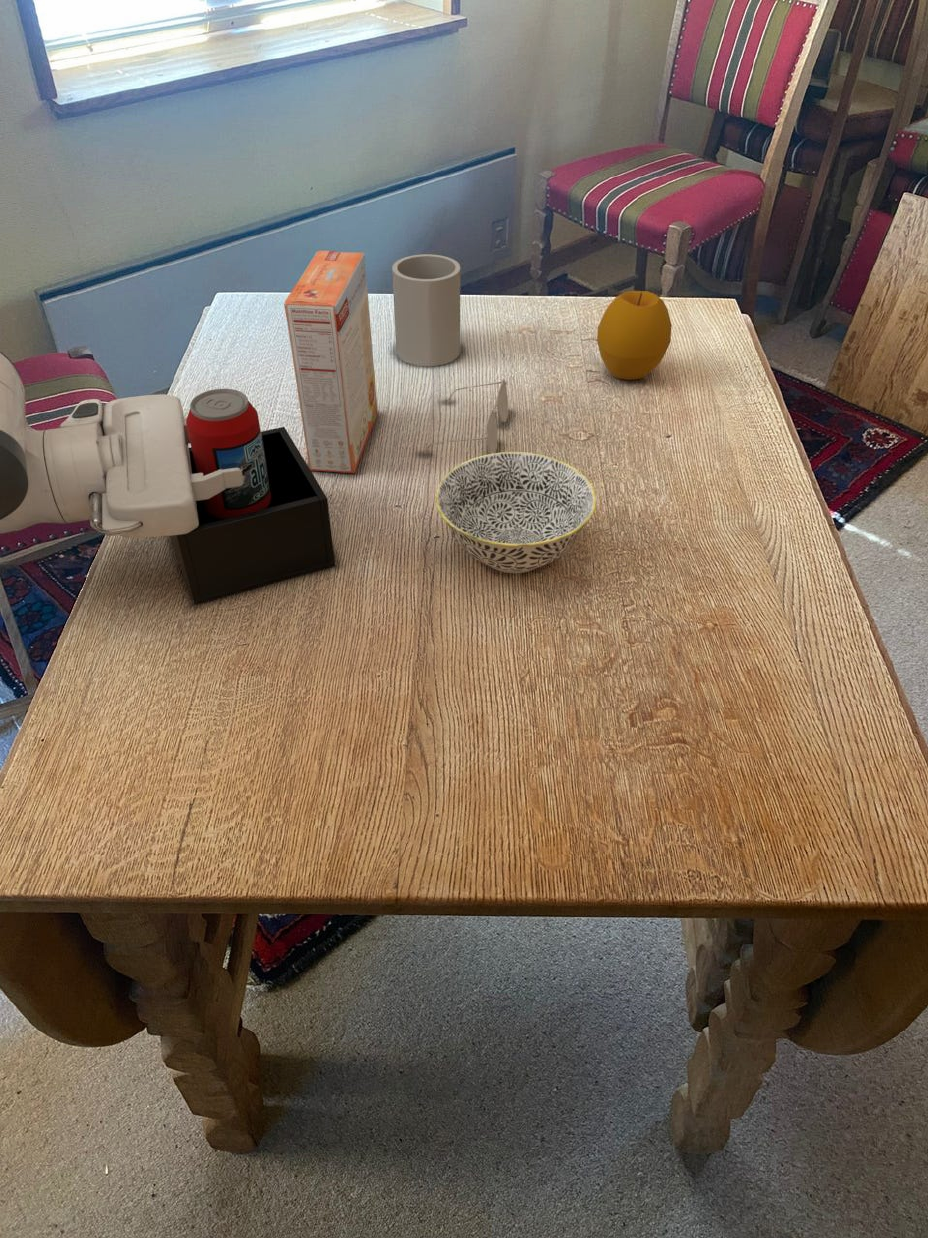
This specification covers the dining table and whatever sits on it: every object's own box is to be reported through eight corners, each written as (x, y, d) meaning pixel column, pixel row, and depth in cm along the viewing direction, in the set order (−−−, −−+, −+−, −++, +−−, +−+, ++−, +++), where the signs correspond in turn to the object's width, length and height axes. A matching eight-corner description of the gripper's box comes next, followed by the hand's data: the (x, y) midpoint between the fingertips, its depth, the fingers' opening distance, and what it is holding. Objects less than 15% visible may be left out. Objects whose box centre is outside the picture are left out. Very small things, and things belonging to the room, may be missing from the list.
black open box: (194, 605, 89) (176, 536, 83) (165, 524, 99) (146, 456, 93) (335, 566, 94) (327, 497, 88) (294, 492, 103) (284, 426, 98)
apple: (619, 400, 119) (631, 314, 111) (577, 369, 125) (586, 286, 117) (678, 382, 123) (693, 298, 115) (634, 353, 129) (646, 271, 121)
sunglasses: (491, 465, 108) (485, 428, 104) (424, 466, 110) (416, 430, 107) (511, 407, 118) (506, 371, 114) (449, 409, 120) (442, 375, 117)
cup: (459, 366, 126) (459, 281, 118) (394, 365, 126) (390, 280, 118) (460, 337, 132) (460, 254, 124) (398, 336, 133) (394, 253, 124)
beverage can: (251, 532, 90) (231, 426, 82) (192, 518, 92) (167, 412, 83) (284, 496, 95) (268, 392, 86) (227, 482, 96) (207, 379, 88)
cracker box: (333, 411, 117) (316, 247, 102) (379, 415, 116) (368, 250, 102) (304, 472, 107) (280, 298, 92) (354, 476, 106) (338, 302, 92)
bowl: (477, 621, 88) (478, 561, 83) (413, 531, 98) (411, 472, 93) (617, 576, 93) (626, 517, 88) (542, 495, 103) (546, 437, 98)
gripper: (79, 507, 76) (244, 482, 79) (82, 391, 91) (222, 374, 94) (98, 565, 81) (255, 539, 84) (98, 445, 95) (232, 427, 98)
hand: (237, 451), depth 89 cm, fingers closed on beverage can, 7 cm apart
